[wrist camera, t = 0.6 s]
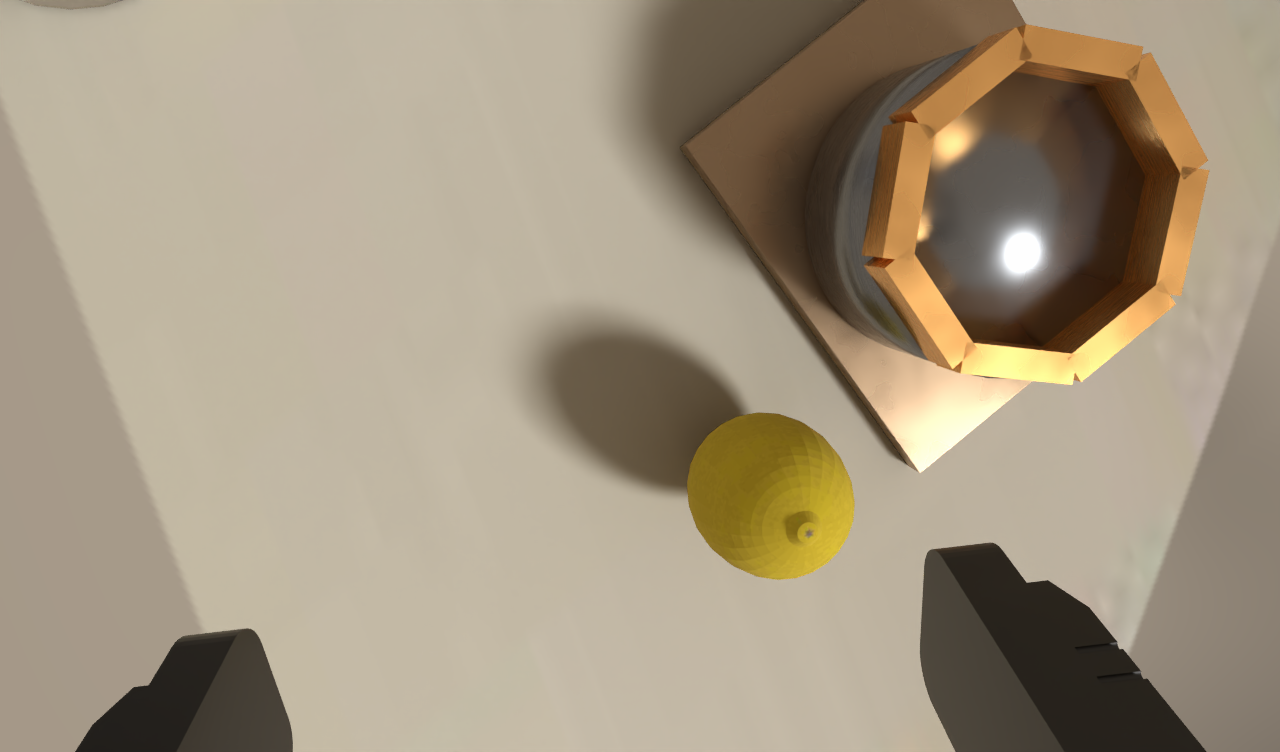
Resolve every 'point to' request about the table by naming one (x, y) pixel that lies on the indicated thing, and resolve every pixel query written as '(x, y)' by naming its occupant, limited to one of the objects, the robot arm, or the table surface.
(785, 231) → the pot on wooden stand
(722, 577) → the table surface
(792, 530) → the lemon
